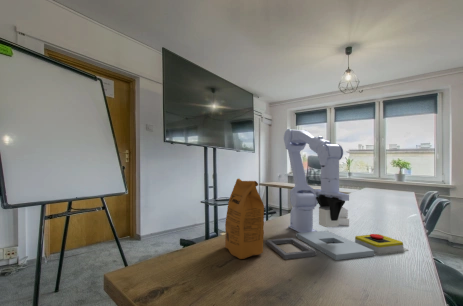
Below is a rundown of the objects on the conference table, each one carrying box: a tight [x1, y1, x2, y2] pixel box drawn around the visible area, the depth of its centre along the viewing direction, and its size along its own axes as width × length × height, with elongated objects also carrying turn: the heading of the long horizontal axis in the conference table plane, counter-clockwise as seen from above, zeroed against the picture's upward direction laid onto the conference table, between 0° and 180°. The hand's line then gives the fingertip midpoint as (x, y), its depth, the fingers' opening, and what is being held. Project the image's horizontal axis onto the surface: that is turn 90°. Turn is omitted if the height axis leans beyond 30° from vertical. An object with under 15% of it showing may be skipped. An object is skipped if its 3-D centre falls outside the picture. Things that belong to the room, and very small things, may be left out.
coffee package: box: [224, 178, 265, 260], centre depth 67 cm, size 10×12×22 cm
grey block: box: [318, 206, 340, 228], centre depth 73 cm, size 4×5×6 cm
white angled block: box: [339, 206, 350, 226], centre depth 101 cm, size 4×10×9 cm
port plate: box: [295, 230, 375, 261], centre depth 73 cm, size 20×14×2 cm
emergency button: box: [354, 233, 409, 256], centre depth 72 cm, size 9×4×15 cm
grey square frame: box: [265, 237, 317, 260], centre depth 68 cm, size 12×10×1 cm
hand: (329, 218), depth 73 cm, fingers closed on grey block, 3 cm apart
